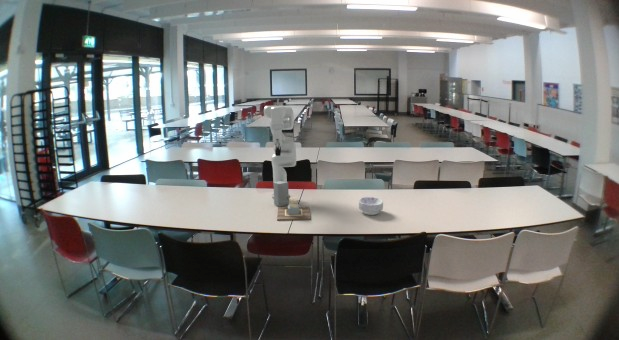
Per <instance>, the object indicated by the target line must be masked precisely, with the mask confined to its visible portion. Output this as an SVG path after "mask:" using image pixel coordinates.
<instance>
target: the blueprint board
mask: <svg viewBox="0 0 619 340" xmlns="http://www.w3.org/2000/svg"><path fill="white" fill-rule="evenodd" d="M297 204H298V203H297ZM276 220H277V221H279V222H280V221H307V220H308V221H310V220H311V214H310V207H309V206H300V204H298V208H289V205H287V206H281V207H278V206H277V217H276Z"/></svg>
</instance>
